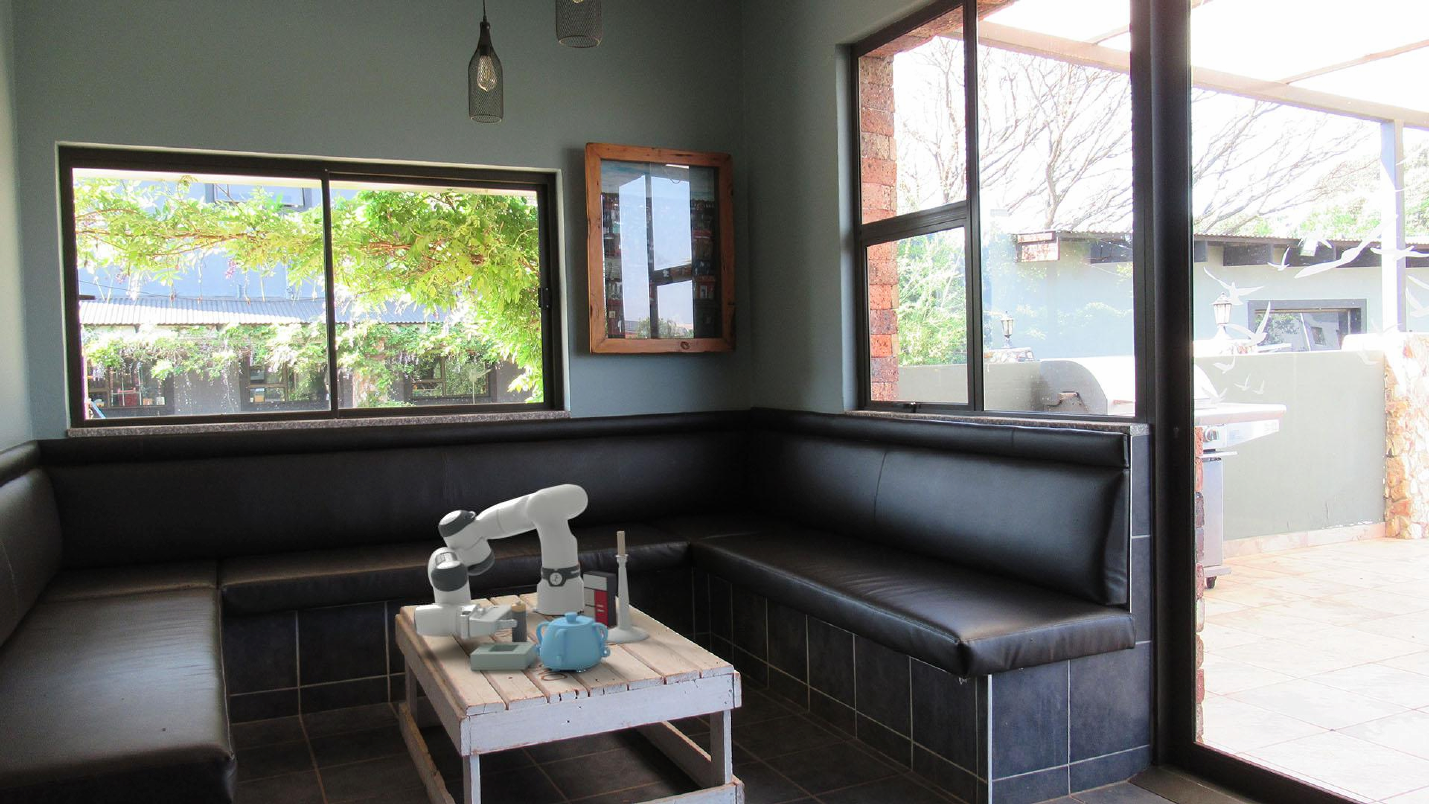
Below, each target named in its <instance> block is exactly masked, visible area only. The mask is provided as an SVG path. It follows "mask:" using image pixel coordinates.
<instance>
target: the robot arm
mask: <svg viewBox="0 0 1429 804" xmlns="http://www.w3.org/2000/svg"><path fill="white" fill-rule="evenodd" d="M588 503H589V500H588V494H587V492H586V491H585V489H584V488H583V487H581V486H580V485H577V484H570V483H565V484H560V485H555V486H551V487H546V488H542V489H539V490H537V491H536V492H534V493H529V494H526V495H523V496H520V497H517V498H516V497H515V498H512V499H509V500H507V501H504V502H499V503H498V504H495V505H493V506H491V507H489V508H487V509H485V510H483V511H481V512H480V513H479V514H478V515H477V513H476V512H474V511H467V510H463V509H458V510H454V511H451V512H450V513H448V514H446V515H445V516H444V517H443V518H442V519H440V522H439V524H438V526H437V527H438V531H439V534H440V536H441V537H442V538H443V540H444V542H445V544H446V546H447V547H446V546H445V547H443V546H442V547H440V548H438V549H436V550H435V551H433V553H432V554H431V556H430V557H429V559H428V565H427V574H428V579H429V582H430V585H431V586H432V587H433V595H434V602H435V603H434V604H426V605H420V606H417V607H416V608H415V610H414V612H413V626H414V630H415V632H416V633H417V635H419V636H424V637H432V638H433V637H435V638H446V637H447V638H448V637H450V636H456V637H460V638H461V640H469V639H470V638H478V637H479V638H480V637H481V638H482V637H489V636H492V635H493V636H494V635H495V634H496V633H498V632H499V631H500V630H504V629H509V628H512V627H516V626H517V625H518V621H517V620H516V619H511V604H496V605H489V606H487V607H482V605H481V603H480V602H479V603H478V602H472V599H471V598H472V597H471V590H470V583H469V576H478V575H481V574H483V573H486V571H488V570H489V569H490V568H491V567H492V566H493V565H494V563H495V560H496V557H495V554H494V551H493V549H492V548H491V547H490V545H489V542H488V540H489V539H490V540H494V539H504V538H507V537H512V536H516V535H519V534H523V533H526V532H529V531H532V530H535V529H536V531H537V534H538V537H539V541H540V548H541V549H540V550H541V564H542V565H541V567H540V574H541V575H540V577H541V579H540V582H539V583H538V584H537V585H536V605H534V606H532V612H536V613H537V612H538V613H539V614H542V615H546V616H547V615H548V616H562V615H564V616H565V614H566V613H569V612H575V613H581V612H584V606H585V604H584V592H583V589H584V581H583V577H581V567H580V566H581V563H580V562H579V557H578V540H577V538H576V537H575V536H574V535H573V534H572V532H571V530H570V529H571V528H570V527H569V524H568V523H569V522H568V520H570V519H571V520H572V519H573V518H575V517H578V516H579V515H580V514H582V513H583V512H584V511H585V509H587V506H588ZM580 611H581V612H580ZM527 617H528V611H527V610H526V618H527Z"/></svg>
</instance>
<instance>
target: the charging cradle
mask: <svg viewBox="0 0 1429 804" xmlns="http://www.w3.org/2000/svg"><path fill="white" fill-rule="evenodd" d="M537 646H538V645H537V641H527V642H512V641H511V642H510V641H507V642H506V641H505V642H504V641H503V642H496V641H495V642H491V641H490V642H483V643H482V644H481V645H480V646H478V647H477V648H476V649H475V650H474V651H472V652H471V653H470V654H469V659H470V671H500V670H501V671H507V670H508V671H509V670H511V671H513V670H514V671H516V670H519V671H520V670H521V671H522V670H527V668H528V667H529V666H530V665H531V664H532V663H533V662H534V661H535V660H536V659H537V658H538V655H537V654H536V652H535V649H536V647H537Z"/></svg>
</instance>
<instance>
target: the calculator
mask: <svg viewBox="0 0 1429 804" xmlns="http://www.w3.org/2000/svg"><path fill="white" fill-rule="evenodd" d="M582 576H583V577H582V580H583V582H584V589H583V592H584V604H585V606H584V611H583V612H584V613H583V614H584V615H583V616H585V617H590V618H593V619H594V620H595V622H596V623H602V624H604V625H605V626H607V628H612V627H611V626H613V627H615V626H618V617H617V595H616V590H617V587H618V586H617V585H618V584H617V583H618V581H617V574H616V573H610V572H603V571H598V570H589V571H584V572H583V575H582Z"/></svg>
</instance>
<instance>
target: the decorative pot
mask: <svg viewBox="0 0 1429 804" xmlns="http://www.w3.org/2000/svg"><path fill="white" fill-rule="evenodd" d="M578 613H579V612H577V613H575V612H569V613H566V614H564V616H562V617H557V618H555V619H553V620H552V621H542V622H541V623H539V624H538V625H537V626H536V628H535V635H536V638H537V642H538V645H537V647H536V649H535V652H536V654H537V656H539V660H540V661H541V663H542V665H543V666H544V667H545V668H548V669H551V670H552V671H551V672H553V671H557V672H561V671H569V670H570V671H573V670H574V671H575V672H576V671H578V672H577V673H580V672H579V671H584V670H586V671H587V669H590V668H593V667H595V666H596V665H597V664H599V663H600V662H601V660H602V659H604V658H605V659H606V658H608V657H610V655H611V649H610V648H609V647H608V646H606V645H607V643H608V642H607V638H608V627H606V626H605V625H604V624H602V623H596V622H595V620H594V619H593V618H590V617H585V616H584V615H578ZM542 627H546V629H545V631H544V634H543V633H542ZM601 630H602V631H601ZM602 632H603V634H602ZM542 634H543V635H542ZM602 635H603V637H602ZM605 652H606V653H605ZM560 670H561V671H560Z"/></svg>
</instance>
